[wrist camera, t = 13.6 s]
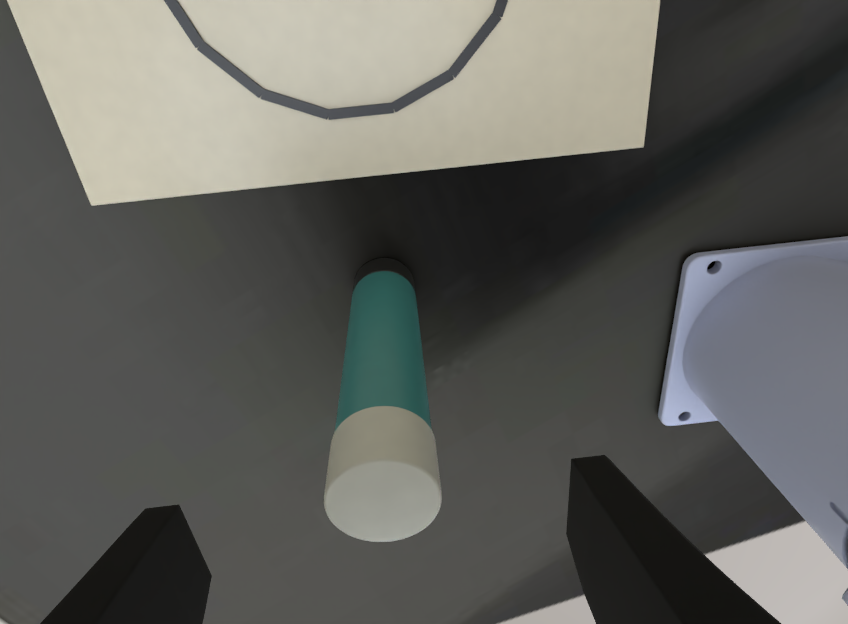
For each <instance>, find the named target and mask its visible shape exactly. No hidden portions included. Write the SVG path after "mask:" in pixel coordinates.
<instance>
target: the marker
mask: <svg viewBox="0 0 848 624" xmlns="http://www.w3.org/2000/svg"><path fill="white" fill-rule="evenodd" d="M441 502H442V492H441V484H440V476H439V468H438V460H437V452H436V444H435V438H434V435H433V432H432V429H431V421H430V412H429V404H428V395H427V387H426V378H425V370H424V361H423V353H422V345H421V336H420V328H419V319H418V311H417V302H416V294H415V285H414V279H413V276H412V274H411V272H410V271H409V269H408V268H407V267H406V266H405V265H404V264H402V263H401V262H399V261H397V260H394V259H390V258H378V259H374V260H371V261H369V262H367V263H366V264H364V265H363V266H362V267H361V268H360V269H359V271H358V272H357V274H356V277H355V280H354V287H353V295H352V303H351V310H350V318H349V326H348V334H347V342H346V349H345V357H344V365H343V373H342V381H341V389H340V396H339V404H338V412H337V420H336V428H335V433H334V435H333V437H332V442H331V448H330V456H329V463H328V471H327V478H326V486H325V493H324V507H325V510H326V513H327V515H328V517H329V519H330V520H331V522H332V523H333V524H334V525H335V526H336V527H337V528H338V529H340V530H341V531H343V532H344V533H346V534H348V535H350V536H352V537H355V538H358V539H361V540H366V541H374V542H388V541H395V540H400V539H404V538H407V537H410V536H412V535H414V534H416V533H418V532H420V531H421V530H423V529H424V528H426V527H427V526H428V525H429V524H430V523H431V522H432V521H433V520H434V518H435V517H436V515H437V514H438V512H439V509H440V506H441Z"/></svg>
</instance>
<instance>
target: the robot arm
mask: <svg viewBox="0 0 848 624" xmlns="http://www.w3.org/2000/svg"><path fill="white" fill-rule="evenodd" d="M713 261H715V264H714V266H713V267H712V268H711V269H708V270H707V267H708V265H709V264H710V263H711V262H713ZM683 412H685V413H683ZM681 413H683V414H682V415H680V414H681ZM658 417H659V419H660V420H661V422H662V423H663V424H664V425H666V426H675V425H683V424H692V423H701V422H710V421H719V422H720V423H721V424H722V425H723V426H724V427H725V429H726V430H727V431H728V432H729V433H730V434H731V435H732V437H733V438H734V439H735V440H736V441H737V442H738V444H739V445H740V446H741V447H742V448H743V449H744V450H745V452H746V453H747V454H748V455H749V456H750V457H751V458H752V460H753V461H754V462H755V463H756V464H757V465H758V467H759V468H760V469H761V470H762V471H763V472H764V473H765V475H766V476H767V477H768V478H769V479H770V480H771V481H772V483H773V484H774V485H775V486H776V487H777V488H778V489H779V491H780V492H781V493H782V494H783V495H784V496H785V498H786V499H787V500H788V501H789V502H790V503H791V504H792V506H793V507H794V508H795V509H796V510H797V511H798V512H799V514H800V515H801V516H802V517H803V518H804V519H805V521H806V522H807V523H808V524H809V525H810V526H811V527H812V528H813V530H814V531H815V532H816V533H817V534H818V535H819V537H820V538H821V539H822V540H823V541H824V542H825V543H826V544H827V546H828V547H829V548H830V549H831V550H832V551H833V553H834V554H835V555H836V556H837V557H838V558H839V559H840V561H841V562H842V563H843V564H844V565H845V566H846V568H847V569H848V236H845V237H836V238H826V239H817V240H808V241H799V242H790V243H781V244H772V245H762V246H753V247H744V248H735V249H726V250H717V251H708V252H699V253H695V254H692V255H691V256H689V257H688V258H687V259H686V260H685V261H684V264H683V267H682V273H681V279H680V285H679V291H678V297H677V303H676V309H675V315H674V321H673V327H672V333H671V339H670V345H669V351H668V357H667V363H666V369H665V375H664V381H663V387H662V393H661V399H660V405H659V411H658ZM566 534H567V537H568V541H569V544H570V548H571V551H572V555H573V558H574V562H575V565H576V569H577V572H578V575H579V579H580V582H581V585H582V589H583V592H584V594H585V597H586V599H587V601H588V604H589V607H590V609H591V611H592V614H593V617H594V619H595V622H596V624H781V623H779V621H778V620H776V619H775V618H774V617H773V616H772V615H771V614H769V613H768V612H767V611H766V610H765V609H764V608H762V607H761V606H760V605H759V604H758V603H757V602H756V601H754V600H753V599H752V598H751V597H750V596H749V595H748V594H746V593H745V592H744V591H743V590H742V589H741V588H740V587H738V586H737V585H736V584H735V583H734V582H733V581H732V580H730V578H728V577H727V576H726V575H725V574H724V573H723V572H722V571H721V570H720V569H719V568H717V567H716V566H715V565H714V564H713V563H712V562H711V561H710V560H709V559H708V558H707V557H706V556H705V555H704V554H703V553H702V552H701V551H700V550H699V549H697V548H696V547H695V546H694V545H693V544H692V543H691V542H690V541H689V540H688V539H687V538H686V537H685V536H684V535H683V534H682V533H681V532H680V531H679V530H678V529H677V528H676V527H675V526H674V525H673V524H672V523H671V522H669V521H668V520H667V519H666V518H665V517H664V516H663V515H662V513H661V512H660V511H659V510H658V509H657V508H656V507H655V506H654V505H653V504H652V503H651V502H650V501H649V500H648V499H647V498H646V497H645V496H644V495H643V494H642V493H641V492H640V491H639V490H638V489H637V488H636V487H635V486H634V485H633V484H632V483H631V482H630V480H629V479H628V478H627V477H626V476H625V475H624V474H623V473H622V472H621V471H620V470H619V469H618V468H617V467H616V466H615V465H614V463H613V462H612V461H611V460H610V459H609V458H607V457H606V456H605V455H601V456H592V457H583V458H575V459H571V473H570V488H569V503H568V518H567V533H566ZM211 577H212V576H211V573H210V571H209V569H208V567H207V565H206V562H205V560H204V558H203V556H202V554H201V552H200V549H199V547H198V545H197V543H196V541H195V538H194V536H193V534H192V532H191V530H190V528H189V525H188V523H187V521H186V519H185V517H184V514H183V512H182V510H181V508H180V506H179V505H172V506H164V507H155V508H147V509H145V510H144V511H143V512H142V513H141V514H140V515H139V516H138V517H137V518H136V519H135V520H134V521H133V522H132V524H131V525H130V526H129V527H128V528H127V529H126V530H125V531H124V532H123V533H122V535H121V536H120V537H119V538H118V539H117V540H116V541H115V542H114V543H113V545H112V546H111V547H110V548H109V549H108V550H107V551H106V552H105V553H104V555H103V556H102V557H101V558H100V559H99V560H98V561H97V562H96V563H95V565H94V566H93V567H92V568H91V569H90V570H89V571H88V572H87V573H86V574H85V576H84V577H83V578H82V579H81V580H80V581H79V582H78V583H77V584H76V585H75V587H74V588H73V589H72V590H71V591H70V592H69V593H68V594H67V595H66V596H65V597H64V598H63V600H62V601H61V602H60V603H59V604H58V605H57V606H56V607H55V608H54V609H53V610H52V611H51V613H50V614H49V615H48V616H47V617H46V618H45V619H44V620H43V621H42V622H41V623H40V624H202V623H203V618H204V613H205V609H206V603H207V598H208V593H209V587H210V582H211ZM842 599H843V600H844V601H845V603H846V604H847V605H848V589H847V590H846V591H845V593H844V594H843V596H842Z"/></svg>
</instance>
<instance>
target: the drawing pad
mask: <svg viewBox="0 0 848 624" xmlns="http://www.w3.org/2000/svg"><path fill="white" fill-rule="evenodd" d="M7 1H8V4H9V6H10V9H11V11H12V14H13V16H14V19H15V21H16V23H17V26H18V28H19V31H20V33H21V36H22V38H23V40H24V43H25V45H26V48H27V50H28V53H29V55H30V57H31V60H32V62H33V65H34V67H35V70H36V72H37V75H38V77H39V79H40V82H41V84H42V87H43V89H44V92H45V94H46V96H47V99H48V101H49V104H50V106H51V109H52V111H53V114H54V116H55V118H56V121H57V123H58V126H59V128H60V131H61V133H62V135H63V138H64V140H65V143H66V145H67V148H68V150H69V153H70V155H71V157H72V160H73V162H74V165H75V167H76V170H77V172H78V174H79V177H80V179H81V182H82V184H83V187H84V189H85V191H86V194H87V196H88V199H89V201H90V204H91V205H92V206H94V205H103V204H113V203H122V202H132V201H141V200H151V199H160V198H169V197H179V196H188V195H198V194H207V193H217V192H226V191H236V190H245V189H254V188H264V187H273V186H283V185H292V184H302V183H311V182H321V181H330V180H340V179H349V178H358V177H368V176H377V175H387V174H396V173H406V172H415V171H425V170H434V169H443V168H453V167H462V166H472V165H481V164H491V163H500V162H510V161H519V160H529V159H538V158H547V157H557V156H566V155H576V154H585V153H595V152H604V151H614V150H623V149H632V148H642V147H644V140H645V131H646V122H647V113H648V104H649V96H650V87H651V78H652V69H653V60H654V51H655V43H656V34H657V25H658V16H659V7H660V0H7Z"/></svg>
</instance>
